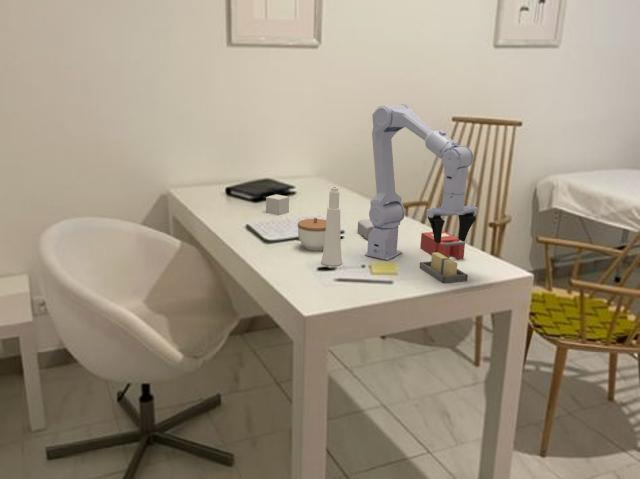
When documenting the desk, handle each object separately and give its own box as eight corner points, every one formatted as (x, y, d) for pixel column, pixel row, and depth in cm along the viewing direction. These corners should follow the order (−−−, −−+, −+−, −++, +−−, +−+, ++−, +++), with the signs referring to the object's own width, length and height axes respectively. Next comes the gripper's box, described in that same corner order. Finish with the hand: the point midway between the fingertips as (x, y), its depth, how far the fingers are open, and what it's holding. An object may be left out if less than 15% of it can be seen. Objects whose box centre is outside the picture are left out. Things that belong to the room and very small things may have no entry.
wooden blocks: (456, 277, 177) (457, 263, 176) (449, 278, 176) (450, 263, 175) (437, 266, 186) (438, 252, 185) (430, 266, 185) (431, 252, 184)
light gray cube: (288, 212, 242) (289, 196, 241) (278, 215, 238) (279, 199, 236) (275, 209, 246) (276, 194, 244) (265, 212, 241) (266, 197, 239)
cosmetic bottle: (346, 262, 188) (349, 187, 182) (332, 267, 184) (335, 190, 178) (330, 257, 192) (333, 184, 186) (316, 262, 188) (319, 187, 181)
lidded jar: (338, 246, 203) (339, 217, 201) (320, 255, 195) (321, 224, 192) (308, 240, 209) (309, 211, 206) (290, 248, 200) (291, 218, 197)
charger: (376, 227, 227) (393, 239, 213) (351, 228, 224) (366, 241, 211) (376, 213, 226) (394, 225, 212) (351, 215, 223) (367, 226, 209)
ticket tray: (467, 280, 177) (467, 274, 176) (442, 283, 174) (443, 277, 174) (442, 265, 189) (443, 260, 188) (419, 267, 186) (419, 262, 186)
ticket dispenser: (465, 258, 195) (466, 242, 194) (441, 261, 192) (443, 244, 191) (442, 246, 207) (444, 230, 205) (420, 248, 204) (421, 232, 202)
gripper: (437, 196, 168) (433, 247, 172) (486, 194, 173) (480, 243, 176) (424, 191, 174) (420, 239, 178) (471, 188, 179) (466, 236, 183)
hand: (449, 241), depth 178 cm, fingers open, 7 cm apart
